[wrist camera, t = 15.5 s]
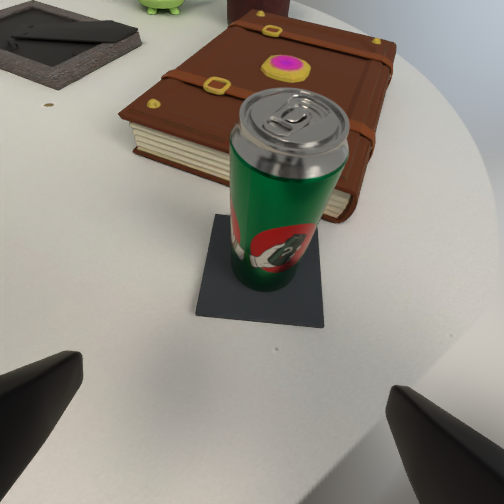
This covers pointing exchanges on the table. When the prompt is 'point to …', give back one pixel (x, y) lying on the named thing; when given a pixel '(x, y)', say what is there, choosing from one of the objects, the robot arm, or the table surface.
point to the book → (257, 79)
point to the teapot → (162, 5)
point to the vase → (255, 8)
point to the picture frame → (59, 43)
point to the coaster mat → (254, 302)
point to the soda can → (281, 180)
